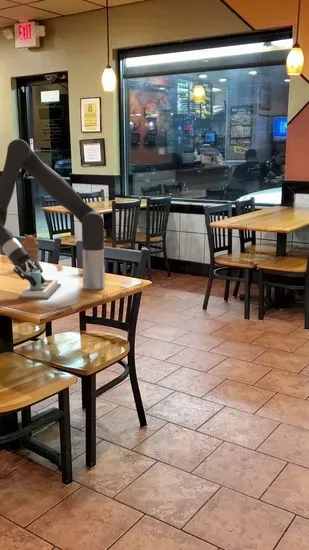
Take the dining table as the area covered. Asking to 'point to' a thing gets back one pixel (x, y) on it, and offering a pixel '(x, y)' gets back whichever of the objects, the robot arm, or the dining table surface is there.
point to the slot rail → (45, 292)
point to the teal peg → (37, 277)
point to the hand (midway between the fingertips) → (39, 283)
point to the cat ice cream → (31, 247)
